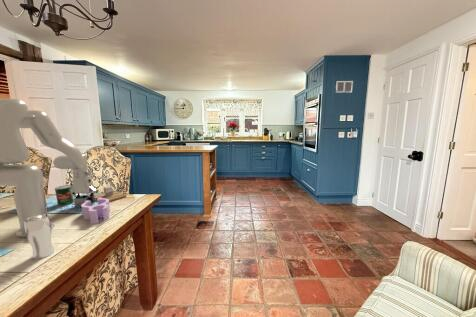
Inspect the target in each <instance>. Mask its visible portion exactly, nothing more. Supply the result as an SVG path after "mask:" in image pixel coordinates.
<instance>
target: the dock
mask: <svg viewBox="0 0 476 317" xmlns="http://www.w3.org/2000/svg"><path fill="white" fill-rule="evenodd" d="M101 197H102V198H105V199H109V203H111V202H112V203H113V202H115V201H117V200H120V199H121V200H122V199H124V198H127V194H125V193H124V192H123V193H122V192H120V191H117V190H115V189H113V186H112V185H106V186H103V192H102V193H98V194H94V198H95V201H97V202H98V200H97V199H98V198H101Z"/></svg>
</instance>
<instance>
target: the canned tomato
mask: <svg viewBox="0 0 476 317" xmlns="http://www.w3.org/2000/svg"><path fill="white" fill-rule="evenodd" d="M72 188H73V187H72V185H70V184H65V185H58V186H57V187H54V191H55V193H54V194H55V198H56V203H57V207H65V206H69V205H72V204H74V199H75V198H74V195H73V194H72V192H71V191H70V190H71V189H72Z"/></svg>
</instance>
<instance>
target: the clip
mask: <svg viewBox="0 0 476 317" xmlns="http://www.w3.org/2000/svg"><path fill="white" fill-rule="evenodd" d="M97 200H98V201H97ZM97 200H96V201H97V204H96V205H92V204H91V201H88V200H87V201H85V203H83V204H82V205H81V207H80V208H81V213H82V218H83V219H84V220H89V221H90V222H89V223H90V224H94V225H95V224H98V223H99V219H100V218H103V221H104V222H106V221H108V220H110V217H111V216H110V213H111V206H110V202H109V199H105V198H102V197H101V198H98V199H97Z"/></svg>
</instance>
